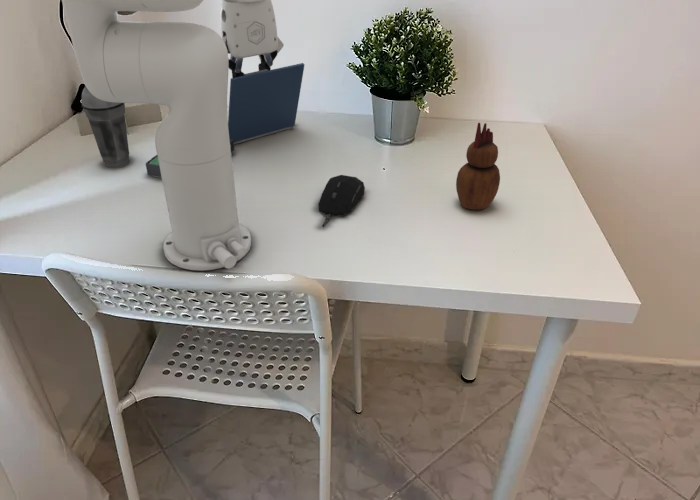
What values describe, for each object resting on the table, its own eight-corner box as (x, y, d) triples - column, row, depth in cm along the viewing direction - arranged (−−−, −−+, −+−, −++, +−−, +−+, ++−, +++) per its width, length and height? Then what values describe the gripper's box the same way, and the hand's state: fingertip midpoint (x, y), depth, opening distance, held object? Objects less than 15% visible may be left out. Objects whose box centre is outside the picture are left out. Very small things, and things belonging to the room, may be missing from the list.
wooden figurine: (463, 216, 95) (475, 129, 86) (448, 199, 99) (459, 115, 91) (500, 211, 96) (516, 125, 88) (485, 194, 101) (498, 111, 92)
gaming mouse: (304, 223, 92) (303, 201, 90) (335, 182, 104) (335, 162, 101) (342, 230, 90) (342, 208, 88) (369, 188, 102) (370, 167, 100)
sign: (304, 64, 113) (290, 51, 115) (232, 80, 105) (218, 65, 107) (294, 128, 124) (281, 114, 126) (228, 146, 116) (215, 132, 118)
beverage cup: (143, 155, 112) (122, 49, 101) (127, 172, 106) (103, 61, 95) (107, 153, 112) (81, 47, 101) (89, 170, 106) (60, 59, 95)
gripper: (212, -2, 99) (224, 102, 109) (295, -12, 108) (298, 84, 118) (192, -9, 104) (205, 91, 114) (273, -18, 113) (278, 75, 123)
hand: (252, 87), depth 116 cm, fingers closed on sign, 5 cm apart
